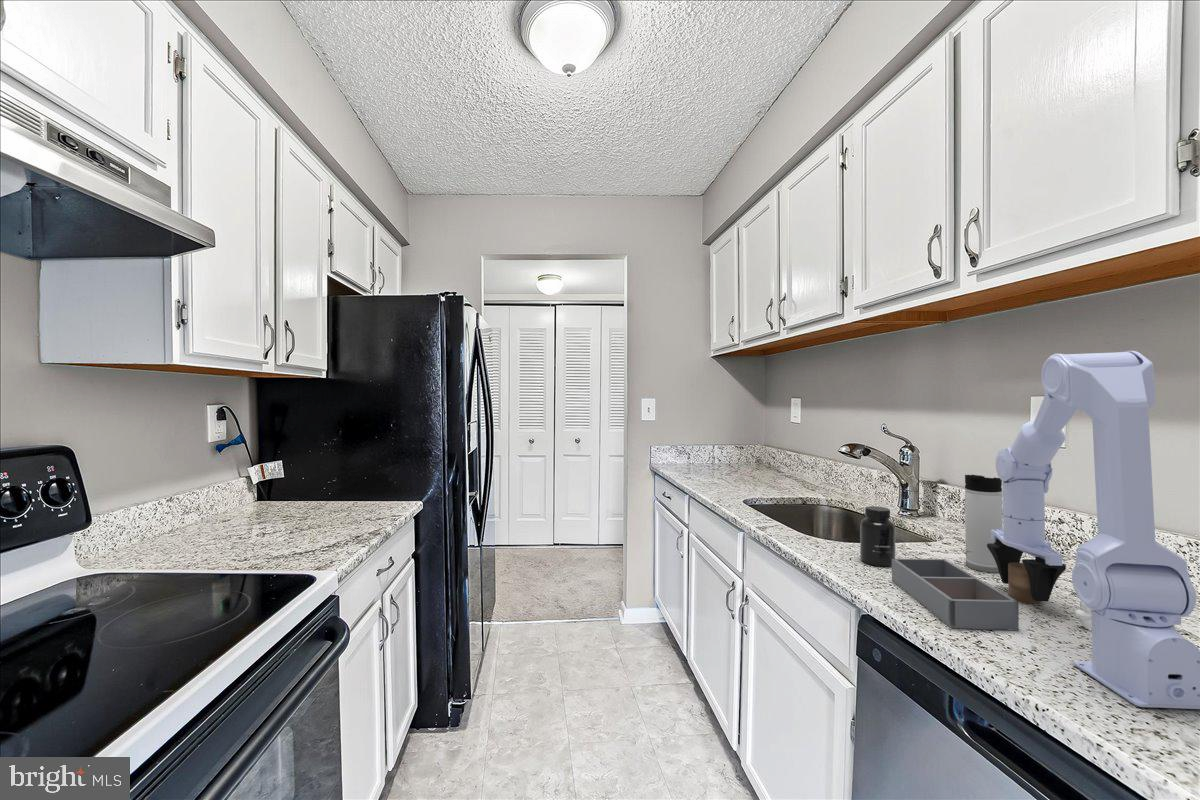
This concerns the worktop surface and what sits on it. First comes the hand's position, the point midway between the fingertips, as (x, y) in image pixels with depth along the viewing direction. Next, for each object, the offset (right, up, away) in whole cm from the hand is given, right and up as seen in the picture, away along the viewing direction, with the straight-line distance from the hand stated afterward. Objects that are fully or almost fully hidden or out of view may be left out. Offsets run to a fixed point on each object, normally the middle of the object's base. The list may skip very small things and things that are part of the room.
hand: (1024, 591), depth 90 cm
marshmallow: (+2, -2, -11) cm, 12 cm away
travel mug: (+5, -1, +16) cm, 16 cm away
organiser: (-14, -2, 0) cm, 14 cm away
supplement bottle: (-15, -2, +21) cm, 26 cm away
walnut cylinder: (0, -1, 0) cm, 1 cm away
